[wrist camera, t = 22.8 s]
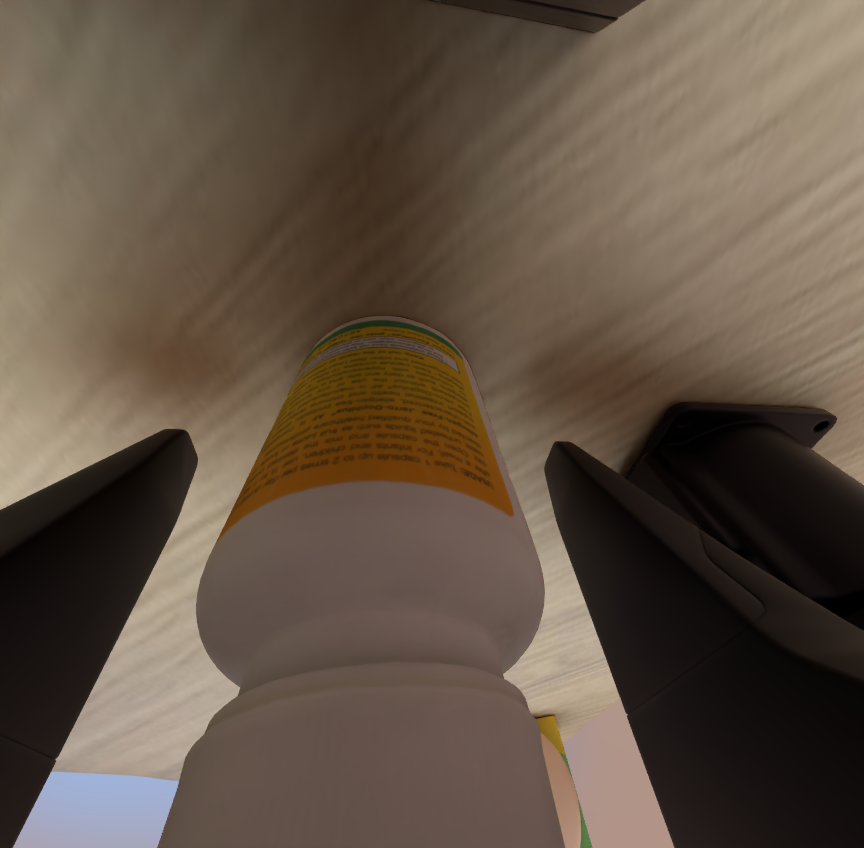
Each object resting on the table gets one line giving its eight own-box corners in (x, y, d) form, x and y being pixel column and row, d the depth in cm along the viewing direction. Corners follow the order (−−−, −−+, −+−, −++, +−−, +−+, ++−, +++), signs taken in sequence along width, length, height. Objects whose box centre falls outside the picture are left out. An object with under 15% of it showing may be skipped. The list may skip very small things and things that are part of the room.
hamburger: (454, 748, 40) (472, 933, 30) (433, 732, 35) (447, 946, 25) (558, 729, 39) (612, 916, 29) (552, 709, 34) (614, 926, 24)
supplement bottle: (496, 417, 12) (675, 864, 4) (365, 476, 13) (323, 911, 6) (421, 270, 9) (572, 892, 1) (260, 364, 10) (-157, 982, 2)
